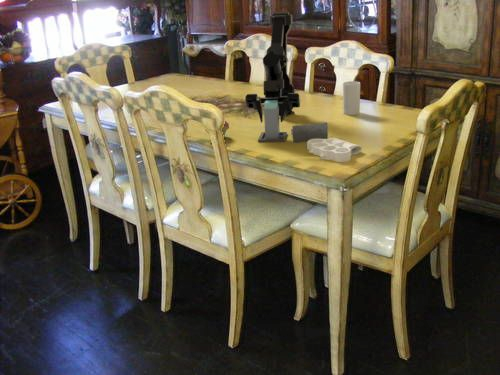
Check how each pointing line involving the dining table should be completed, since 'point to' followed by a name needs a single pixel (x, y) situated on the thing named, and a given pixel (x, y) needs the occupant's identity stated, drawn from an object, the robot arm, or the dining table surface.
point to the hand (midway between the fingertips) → (271, 121)
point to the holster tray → (281, 139)
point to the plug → (271, 119)
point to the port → (309, 132)
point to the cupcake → (224, 127)
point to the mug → (351, 98)
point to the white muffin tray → (333, 149)
